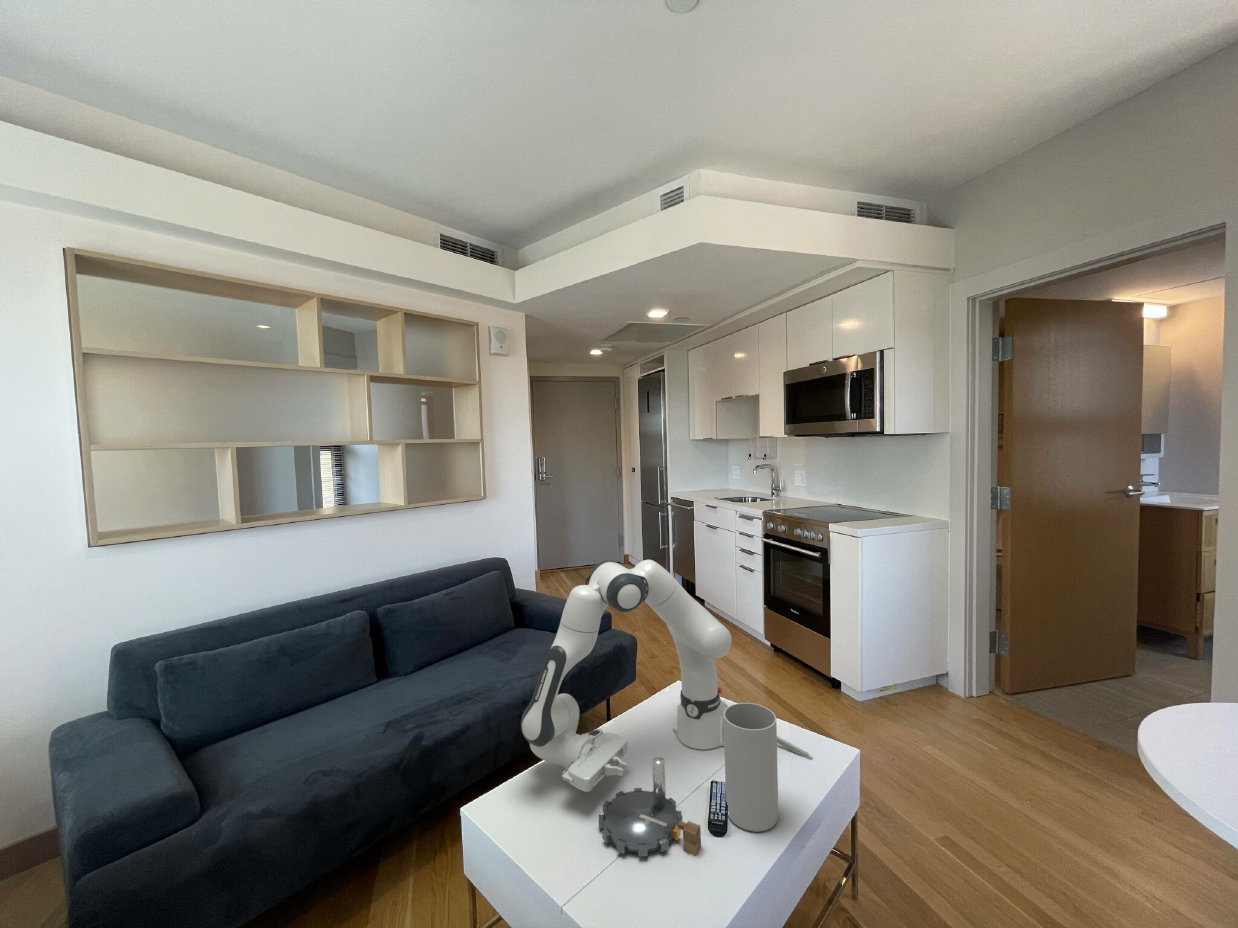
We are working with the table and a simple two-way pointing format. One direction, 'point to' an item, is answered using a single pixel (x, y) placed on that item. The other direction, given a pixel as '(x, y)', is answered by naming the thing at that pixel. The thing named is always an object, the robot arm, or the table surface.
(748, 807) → the cylinder vase
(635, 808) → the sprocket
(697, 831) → the brown wooden block
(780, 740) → the caliper
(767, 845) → the table surface
